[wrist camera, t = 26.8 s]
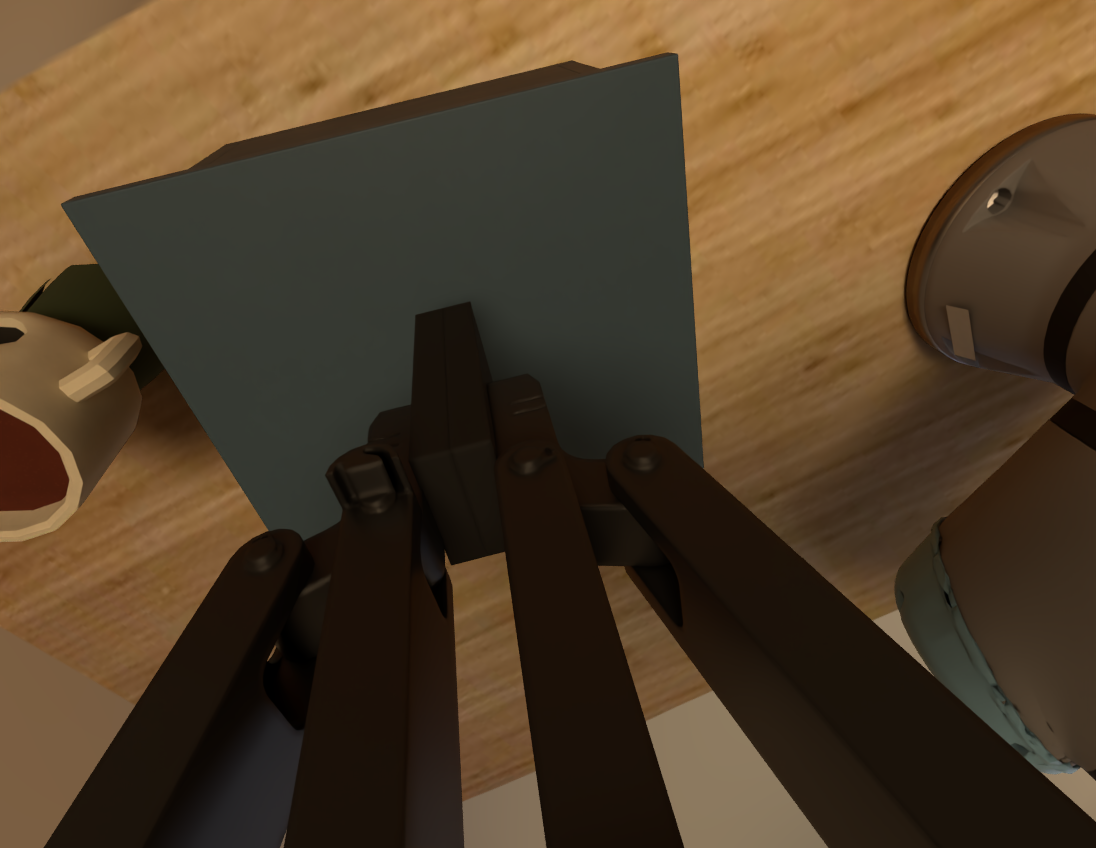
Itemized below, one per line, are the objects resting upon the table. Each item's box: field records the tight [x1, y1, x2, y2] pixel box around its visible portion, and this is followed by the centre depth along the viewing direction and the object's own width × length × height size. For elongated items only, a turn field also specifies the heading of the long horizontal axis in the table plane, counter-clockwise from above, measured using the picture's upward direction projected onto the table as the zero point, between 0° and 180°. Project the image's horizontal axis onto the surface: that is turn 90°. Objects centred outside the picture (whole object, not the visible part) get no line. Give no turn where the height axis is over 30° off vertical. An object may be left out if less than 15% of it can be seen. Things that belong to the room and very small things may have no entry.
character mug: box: [0, 264, 165, 542], centre depth 27 cm, size 11×7×13 cm, turn 117°
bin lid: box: [61, 53, 704, 541], centre depth 21 cm, size 15×17×1 cm
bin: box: [189, 61, 599, 169], centre depth 27 cm, size 14×17×14 cm
